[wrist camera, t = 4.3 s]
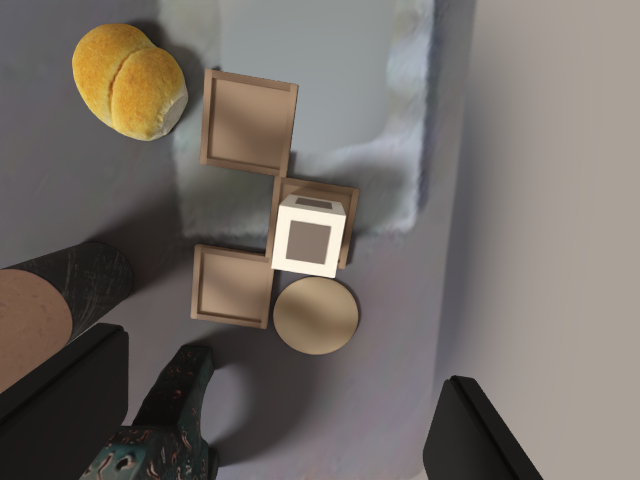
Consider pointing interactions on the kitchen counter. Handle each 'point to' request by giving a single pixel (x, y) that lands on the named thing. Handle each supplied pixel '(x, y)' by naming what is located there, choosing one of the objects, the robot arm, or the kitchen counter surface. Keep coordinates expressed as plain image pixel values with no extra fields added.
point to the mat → (315, 315)
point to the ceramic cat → (164, 428)
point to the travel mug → (56, 303)
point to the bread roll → (129, 81)
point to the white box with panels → (308, 235)
